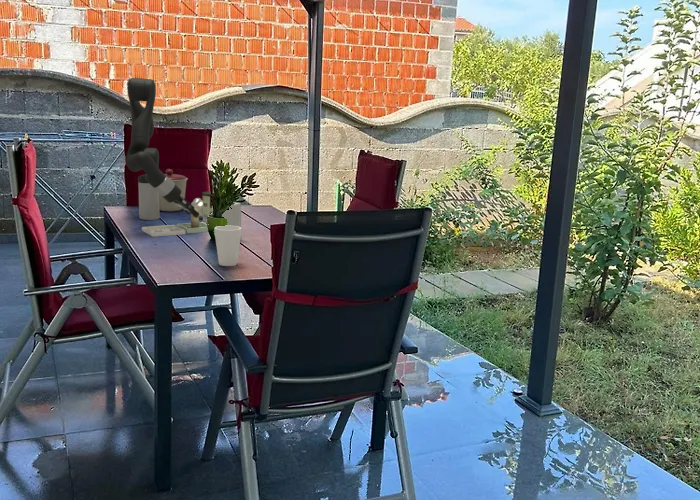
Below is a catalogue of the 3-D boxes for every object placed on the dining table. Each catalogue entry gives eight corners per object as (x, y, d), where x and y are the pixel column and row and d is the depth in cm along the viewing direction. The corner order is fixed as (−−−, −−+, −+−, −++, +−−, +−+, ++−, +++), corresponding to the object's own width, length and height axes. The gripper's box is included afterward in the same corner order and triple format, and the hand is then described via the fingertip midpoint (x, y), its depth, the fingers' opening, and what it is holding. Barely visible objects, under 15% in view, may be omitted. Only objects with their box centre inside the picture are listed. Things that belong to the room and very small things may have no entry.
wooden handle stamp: (185, 229, 287) (185, 205, 284) (199, 228, 290) (198, 205, 288) (190, 231, 282) (190, 208, 280) (204, 230, 285) (204, 207, 283)
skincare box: (242, 239, 275) (242, 202, 271) (234, 242, 268) (234, 204, 265) (224, 237, 277) (224, 201, 274) (216, 240, 271) (216, 203, 268)
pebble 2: (169, 233, 277) (168, 226, 276) (175, 232, 279) (175, 225, 278) (171, 234, 274) (171, 227, 274) (178, 233, 276) (178, 226, 275)
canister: (160, 206, 349) (159, 166, 344) (193, 208, 346) (192, 168, 342) (145, 211, 331) (144, 169, 326) (179, 214, 329) (179, 171, 324)
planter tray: (176, 230, 288) (176, 223, 287) (203, 228, 294) (202, 222, 294) (186, 235, 278) (186, 228, 277) (213, 233, 285) (213, 226, 284)
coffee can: (228, 221, 314) (228, 192, 311) (219, 225, 305) (219, 194, 302) (207, 219, 316) (207, 190, 313) (198, 223, 307) (198, 193, 303)
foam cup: (216, 260, 238) (216, 225, 235) (242, 260, 239) (242, 225, 236) (213, 266, 229) (213, 230, 226) (240, 267, 230) (240, 230, 227)
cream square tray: (141, 232, 280) (141, 227, 279) (173, 230, 288) (173, 224, 287) (152, 238, 269) (152, 233, 268) (185, 236, 277) (185, 230, 276)
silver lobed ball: (192, 216, 324) (192, 196, 321) (211, 217, 323) (211, 197, 321) (187, 219, 315) (187, 198, 313) (207, 220, 314) (207, 199, 312)
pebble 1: (153, 234, 273) (153, 227, 273) (160, 233, 275) (160, 226, 274) (156, 235, 271) (155, 228, 270) (163, 234, 273) (163, 227, 272)
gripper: (179, 184, 270) (206, 210, 279) (167, 180, 282) (193, 205, 291) (167, 198, 269) (194, 223, 277) (155, 193, 280) (182, 218, 289)
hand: (193, 214), depth 284 cm, fingers open, 8 cm apart
